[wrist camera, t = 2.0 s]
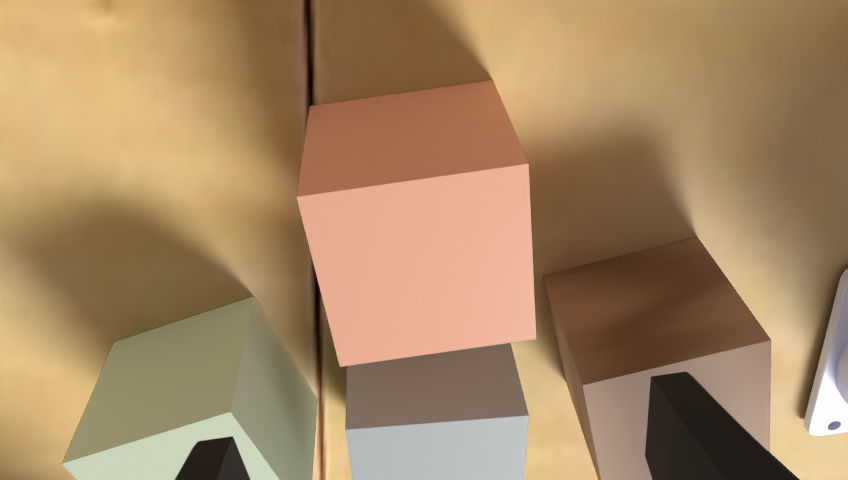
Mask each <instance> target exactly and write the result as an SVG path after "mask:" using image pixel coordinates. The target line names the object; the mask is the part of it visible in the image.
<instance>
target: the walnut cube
mask: <svg viewBox="0 0 848 480" xmlns="http://www.w3.org/2000/svg"><path fill="white" fill-rule="evenodd" d="M543 277H544V281H545V286H546V291H547V295H548V300H549V305H550V309H551V314H552V319H553V323H554V328H555V333H556V337H557V342H558V347H559V351H560V356H561V361H562V365H563V370H564V374H565V379H566V383H567V386H568V389H569V392H570V395H571V398H572V401H573V404H574V407H575V410H576V413H577V416H578V419H579V422H580V425H581V428H582V431H583V434H584V437H585V440H586V443H587V446H588V449H589V452H590V455H591V458H592V461H593V464H594V467H595V471H596V474H597V477H598V480H652V477H651V473H650V470H649V467H648V464H647V461H646V458H645V448H646V434H647V421H648V408H649V394H650V381H651V376H658V375H665V374H672V373H679V372H686V371H687V372H688V373H689V374H691V375H692V376H693V377H694V378H695V379H696V380H697V381H698V382H699V383H700V384H701V385H702V386H703V387H704V388H705V389H706V391H707V392H708V393H709V394H710V395H711V396H712V397H713V398H714V399H715V400H716V401H717V402H718V403H719V404H720V405H721V406H722V407H723V408H724V409H725V410H726V411H727V412H728V413H729V414H730V415H731V416H732V417H733V418H734V419H735V420H736V421H737V422H738V423H739V424H740V425H741V426H742V427H743V428H744V429H745V430H746V431H747V432H748V433H749V434H751V435H752V436H753V437H754V438H755V439H756V440H757V441H758V442H759V443H760V444H761V445H762V446H763V447H764V448H765V449H766V450H768V451H769V452H770V385H771V339H770V338H769V336H768V335H767V334H766V332H765V331H764V329H763V328H762V327H761V325H760V324H759V322H758V321H757V320H756V318H755V317H754V315H753V314H752V313H751V311H750V310H749V308H748V307H747V306H746V304H745V303H744V301H743V300H742V299H741V297H740V296H739V294H738V293H737V292H736V290H735V289H734V287H733V286H732V285H731V283H730V282H729V280H728V279H727V278H726V276H725V275H724V273H723V272H722V271H721V269H720V268H719V266H718V265H717V264H716V262H715V261H714V259H713V258H712V257H711V255H710V254H709V252H708V251H707V250H706V248H705V247H704V245H703V244H702V243H701V241H700V240H699V238H698V237H694V238H690V239H686V240H682V241H678V242H674V243H670V244H666V245H662V246H658V247H654V248H650V249H647V250H643V251H639V252H635V253H631V254H627V255H623V256H619V257H615V258H611V259H607V260H603V261H599V262H596V263H592V264H588V265H584V266H580V267H576V268H572V269H568V270H564V271H560V272H556V273H552V274H548V275H545V276H543Z"/></svg>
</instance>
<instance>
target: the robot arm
mask: <svg viewBox="0 0 848 480" xmlns="http://www.w3.org/2000/svg"><path fill="white" fill-rule="evenodd" d="M804 427H805V428H806V430H807V431H808V433H809V434H811V435H814V436H819V435H826V434H833V433H841V432H848V269H846V270H845V271H844V272H843V274H842V276H841V278H840V281H839V285H838V289H837V293H836V297H835V300H834V304H833V308H832V312H831V316H830V320H829V324H828V328H827V332H826V336H825V340H824V344H823V348H822V352H821V356H820V360H819V364H818V368H817V371H816V375H815V379H814V383H813V387H812V391H811V395H810V399H809V403H808V407H807V411H806V415H805V419H804ZM645 458H646V461H647V464H648V467H649V470H650V473H651V477H652V480H799V479H798V478H797V477H796V476H795V475H794V474H793V473H792V472H790V471H789V470H788V469H787V468H786V467H785V466H784V465H783V464H782V463H781V462H780V461H778V460H777V459H776V458H775V457H774V456H773V455H772V454H771V453H770V452H769V451H768V450H766V449H765V448H764V447H763V446H762V445H761V444H760V443H759V442H758V441H757V440H756V439H755V438H754V437H753V436H752V435H751V434H749V433H748V432H747V431H746V430H745V429H744V428H743V427H742V426H741V425H740V424H739V423H738V422H737V421H736V420H735V419H734V418H733V417H732V416H731V415H730V414H729V413H728V412H727V411H726V410H725V409H724V408H723V407H722V406H721V405H720V404H719V403H718V402H717V401H716V400H715V399H714V398H713V397H712V396H711V395H710V394H709V393H708V392H707V391H706V389H705V388H704V387H703V386H702V385H701V384H700V383H699V382H698V381H697V380H696V379H695V378H694V377H693V376H692V375H691V374H689V373H688V372H687V371H686V372H679V373H672V374H665V375H658V376H651V381H650V394H649V408H648V421H647V434H646V448H645ZM175 480H250V477H249V475H248V472H247V470H246V467H245V465H244V462H243V460H242V457H241V455H240V453H239V450H238V448H237V445H236V443H235V440H234V438H233V436H231V437H224V438H217V439H210V440H203V441H198V442H197V443H196V444H195V445H194V447H193V448H192V450H191V452H190V453H189V455H188V457H187V459H186V460H185V462H184V464H183V466H182V468H181V469H180V471H179V473H178V475H177V476H176V478H175Z"/></svg>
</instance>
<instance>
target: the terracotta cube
mask: <svg viewBox="0 0 848 480" xmlns="http://www.w3.org/2000/svg"><path fill="white" fill-rule="evenodd" d="M296 197H297V201H298V205H299V209H300V213H301V217H302V221H303V225H304V229H305V232H306V236H307V240H308V244H309V248H310V252H311V256H312V260H313V264H314V268H315V272H316V276H317V279H318V283H319V287H320V291H321V295H322V299H323V303H324V307H325V311H326V315H327V319H328V322H329V326H330V330H331V334H332V338H333V342H334V346H335V350H336V354H337V358H338V362H339V365H340V367H343V366H350V365H357V364H364V363H371V362H378V361H385V360H392V359H399V358H406V357H413V356H420V355H427V354H434V353H441V352H448V351H455V350H462V349H469V348H476V347H484V346H491V345H498V344H505V343H512V342H519V341H526V340H533V339H536V321H535V298H534V275H533V252H532V229H531V206H530V184H529V163H528V161H527V159H526V156H525V154H524V152H523V149H522V147H521V145H520V142H519V140H518V138H517V135H516V133H515V131H514V128H513V126H512V124H511V121H510V119H509V117H508V114H507V112H506V110H505V107H504V105H503V103H502V100H501V98H500V96H499V93H498V91H497V89H496V86H495V84H494V81H493V80H489V81H482V82H475V83H468V84H461V85H454V86H447V87H440V88H433V89H426V90H419V91H412V92H405V93H398V94H391V95H384V96H377V97H370V98H363V99H356V100H349V101H342V102H335V103H328V104H321V105H314V106H310V109H309V115H308V122H307V129H306V136H305V142H304V149H303V156H302V163H301V169H300V176H299V183H298V190H297V196H296Z"/></svg>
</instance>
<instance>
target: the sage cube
mask: <svg viewBox="0 0 848 480" xmlns="http://www.w3.org/2000/svg"><path fill="white" fill-rule="evenodd" d="M317 403H318V399H317V397H316V395H315V394H314V392H313V391H312V389H311V387H310V386H309V384H308V383H307V381H306V379H305V378H304V376H303V374H302V373H301V371H300V370H299V368H298V366H297V365H296V363H295V361H294V360H293V358H292V357H291V355H290V353H289V352H288V350H287V349H286V347H285V345H284V344H283V342H282V340H281V339H280V337H279V336H278V334H277V332H276V331H275V329H274V328H273V326H272V324H271V323H270V321H269V319H268V318H267V316H266V315H265V313H264V311H263V310H262V308H261V306H260V305H259V303H258V302H257V300H256V298H255V297H254V296H253V297H250V298H247V299H244V300H241V301H238V302H235V303H232V304H228V305H225V306H222V307H219V308H216V309H213V310H210V311H207V312H204V313H201V314H198V315H195V316H192V317H189V318H186V319H183V320H180V321H177V322H174V323H171V324H168V325H164V326H161V327H158V328H155V329H152V330H149V331H146V332H143V333H140V334H137V335H134V336H131V337H128V338H125V339H122V340H119V341H116V342H114V343H113V346H112V348H111V350H110V353H109V355H108V357H107V360H106V362H105V364H104V366H103V369H102V371H101V373H100V376H99V378H98V380H97V383H96V385H95V387H94V390H93V392H92V394H91V396H90V399H89V401H88V403H87V406H86V408H85V410H84V413H83V415H82V417H81V419H80V422H79V424H78V426H77V429H76V431H75V433H74V436H73V438H72V440H71V443H70V445H69V447H68V449H67V452H66V454H65V456H64V459H63V461H62V463H61V464H62V465H63V466H64V467H65V468H66V469H67V470H68V471H69V472H70V473H71V474H72V475H73V476H74V477H75V478H76V479H77V480H175V478H176V476H177V475H178V473H179V471H180V469H181V468H182V466H183V464H184V462H185V460H186V459H187V457H188V455H189V453H190V452H191V450H192V448H193V447H194V445H195V444H196V443H197V442H198V441H203V440H210V439H217V438H224V437H231V436H233V438H234V440H235V443H236V445H237V448H238V450H239V453H240V455H241V457H242V460H243V462H244V465H245V467H246V470H247V472H248V475H249V477H250V480H312V474H313V460H314V446H315V432H316V418H317Z"/></svg>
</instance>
